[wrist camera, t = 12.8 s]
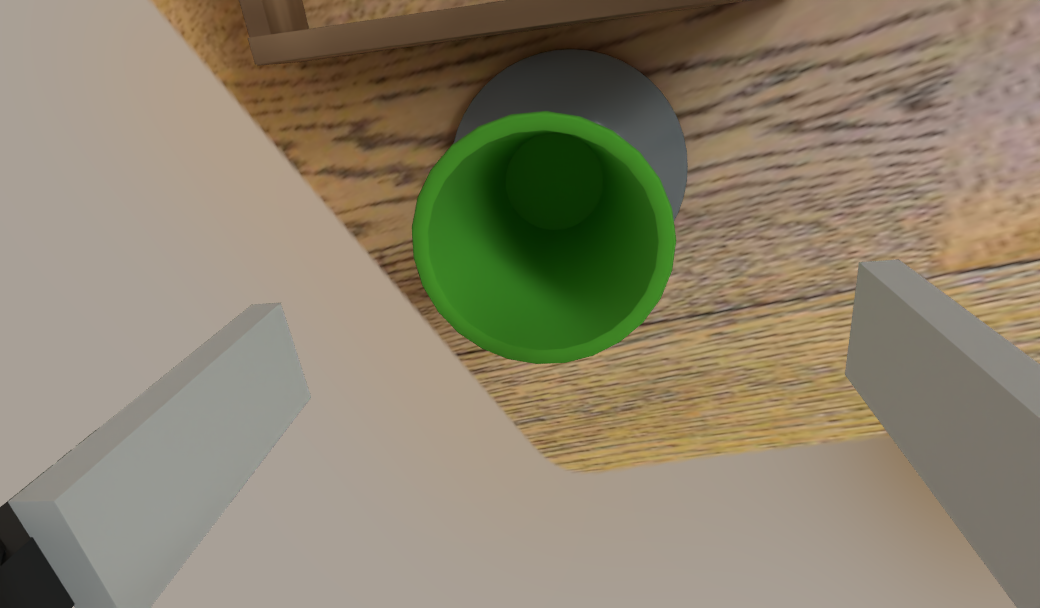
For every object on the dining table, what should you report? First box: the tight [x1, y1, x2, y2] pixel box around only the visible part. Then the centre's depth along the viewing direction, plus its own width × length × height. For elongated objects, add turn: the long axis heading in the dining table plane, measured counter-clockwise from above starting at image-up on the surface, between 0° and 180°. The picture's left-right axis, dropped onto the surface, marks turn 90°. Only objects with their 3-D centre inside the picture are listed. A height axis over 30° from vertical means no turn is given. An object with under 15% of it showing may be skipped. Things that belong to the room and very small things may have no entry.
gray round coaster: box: [454, 49, 688, 220], centre depth 30 cm, size 12×12×1 cm
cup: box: [412, 111, 676, 364], centre depth 25 cm, size 9×9×11 cm
